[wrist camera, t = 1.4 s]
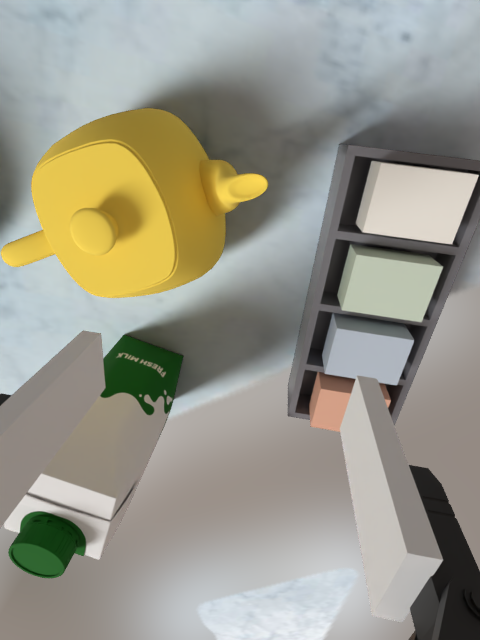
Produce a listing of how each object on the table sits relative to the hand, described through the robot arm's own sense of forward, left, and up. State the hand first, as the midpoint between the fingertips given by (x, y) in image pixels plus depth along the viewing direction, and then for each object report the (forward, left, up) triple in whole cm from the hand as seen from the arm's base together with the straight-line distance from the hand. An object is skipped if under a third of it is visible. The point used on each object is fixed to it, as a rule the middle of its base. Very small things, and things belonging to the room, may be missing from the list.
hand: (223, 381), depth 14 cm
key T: (0, +10, -17) cm, 20 cm away
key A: (-6, +10, -17) cm, 21 cm away
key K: (+6, +10, -17) cm, 21 cm away
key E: (+12, +10, -17) cm, 23 cm away
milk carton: (+16, -11, -21) cm, 29 cm away
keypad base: (+3, +10, -21) cm, 23 cm away
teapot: (-3, -9, -21) cm, 23 cm away
